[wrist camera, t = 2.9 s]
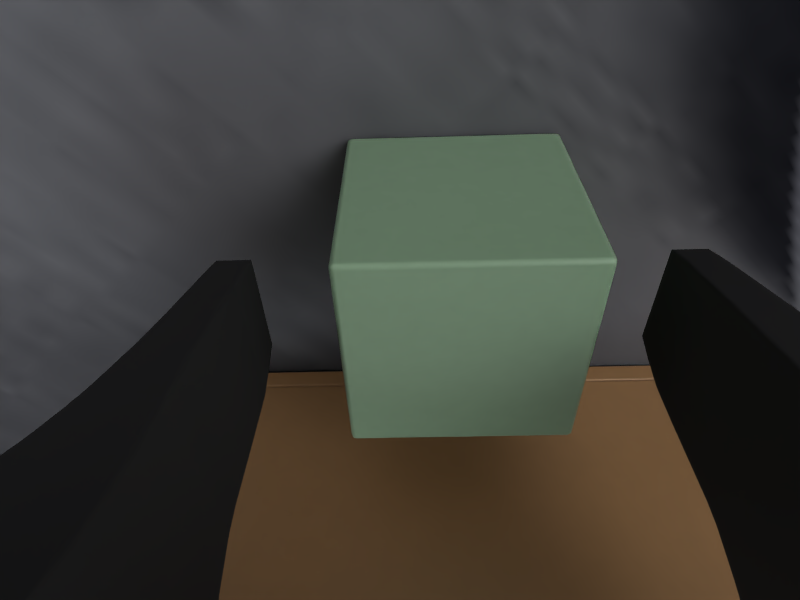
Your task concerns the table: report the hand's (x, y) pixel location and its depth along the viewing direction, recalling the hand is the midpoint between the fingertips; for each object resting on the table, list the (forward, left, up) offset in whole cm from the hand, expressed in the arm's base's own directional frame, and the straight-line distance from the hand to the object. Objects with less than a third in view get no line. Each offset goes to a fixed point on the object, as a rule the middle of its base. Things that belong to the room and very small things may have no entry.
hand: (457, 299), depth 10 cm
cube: (0, 0, -2) cm, 2 cm away
